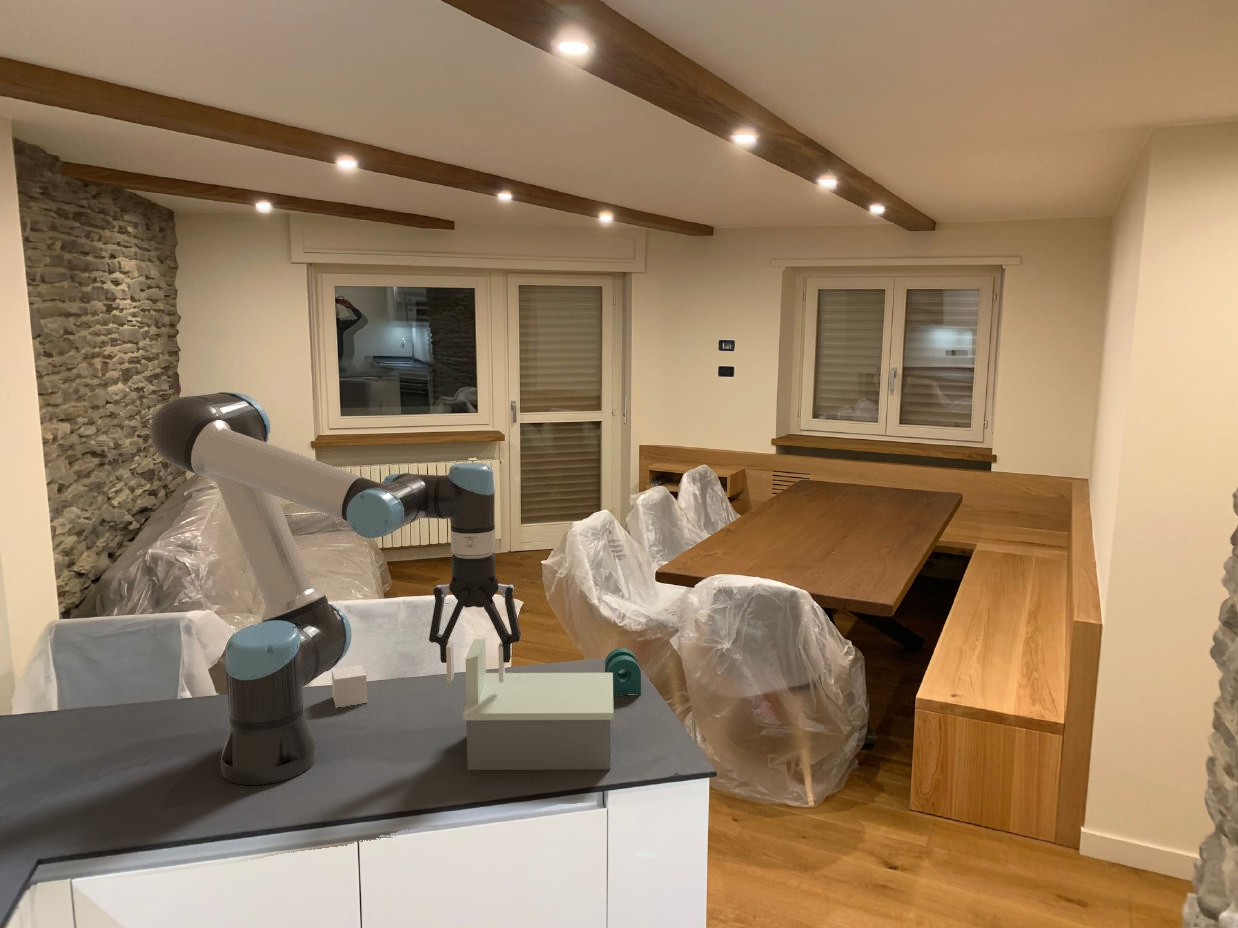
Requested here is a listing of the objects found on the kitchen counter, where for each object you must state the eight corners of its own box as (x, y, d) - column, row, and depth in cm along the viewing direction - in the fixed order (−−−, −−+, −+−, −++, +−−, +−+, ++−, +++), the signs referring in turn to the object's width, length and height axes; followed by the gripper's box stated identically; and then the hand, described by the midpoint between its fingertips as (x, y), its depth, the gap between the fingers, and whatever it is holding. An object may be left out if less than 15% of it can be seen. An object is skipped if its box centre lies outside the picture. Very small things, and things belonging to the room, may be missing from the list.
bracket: (636, 683, 189) (636, 647, 188) (640, 695, 182) (641, 658, 181) (551, 686, 187) (550, 650, 186) (552, 699, 180) (551, 662, 179)
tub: (467, 769, 151) (466, 719, 149) (481, 726, 168) (480, 680, 166) (610, 769, 151) (610, 718, 150) (610, 725, 168) (610, 679, 167)
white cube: (336, 708, 176) (334, 679, 175) (332, 697, 181) (331, 669, 180) (367, 703, 178) (366, 674, 177) (363, 692, 183) (362, 664, 183)
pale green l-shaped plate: (463, 728, 149) (461, 667, 148) (478, 686, 167) (477, 631, 165) (613, 728, 149) (613, 666, 148) (612, 686, 167) (612, 631, 166)
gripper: (407, 559, 150) (411, 688, 153) (533, 558, 151) (534, 687, 154) (416, 548, 158) (420, 671, 161) (536, 548, 158) (538, 671, 161)
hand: (476, 679), depth 157 cm, fingers open, 8 cm apart
